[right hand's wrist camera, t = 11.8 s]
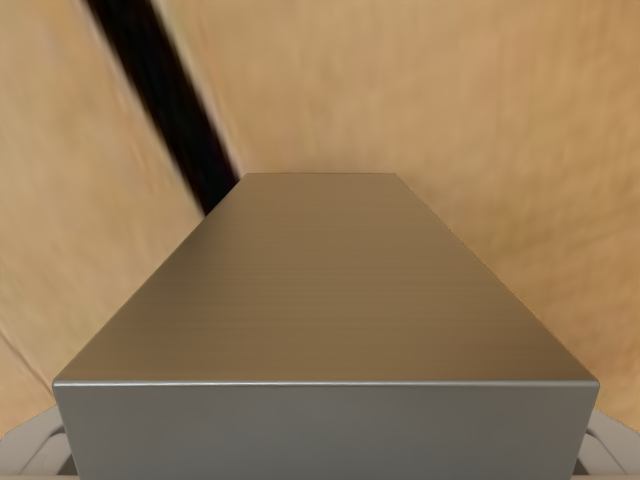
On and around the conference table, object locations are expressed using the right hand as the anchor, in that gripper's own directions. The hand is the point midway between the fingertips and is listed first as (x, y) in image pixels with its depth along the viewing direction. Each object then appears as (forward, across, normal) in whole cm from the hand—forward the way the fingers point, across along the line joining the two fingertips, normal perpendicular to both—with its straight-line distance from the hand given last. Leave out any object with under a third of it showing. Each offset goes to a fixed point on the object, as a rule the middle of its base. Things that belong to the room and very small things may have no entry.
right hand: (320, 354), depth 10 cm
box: (+7, 0, +7) cm, 10 cm away
